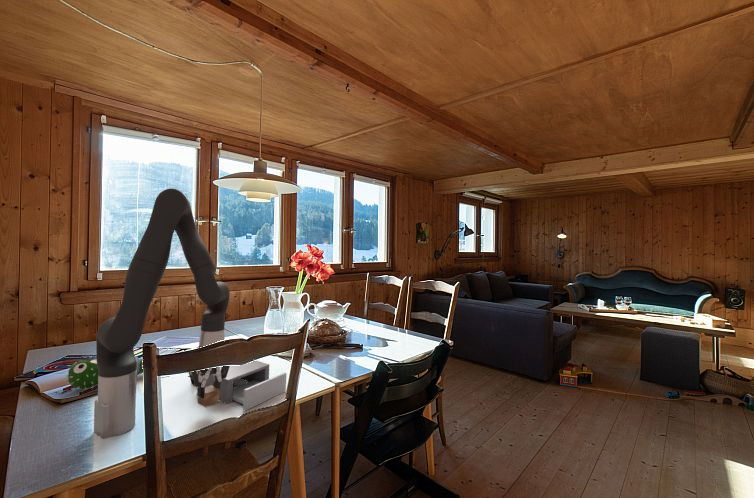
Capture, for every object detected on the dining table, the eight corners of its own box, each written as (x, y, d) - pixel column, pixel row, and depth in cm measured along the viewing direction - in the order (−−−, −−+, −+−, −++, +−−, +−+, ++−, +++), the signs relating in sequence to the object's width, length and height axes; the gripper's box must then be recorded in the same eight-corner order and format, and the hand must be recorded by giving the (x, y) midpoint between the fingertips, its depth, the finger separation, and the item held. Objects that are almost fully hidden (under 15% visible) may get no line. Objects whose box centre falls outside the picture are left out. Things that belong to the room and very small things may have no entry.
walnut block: (205, 407, 111) (206, 393, 111) (197, 403, 114) (198, 389, 114) (218, 402, 115) (219, 388, 115) (210, 398, 117) (211, 385, 117)
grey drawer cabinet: (268, 385, 139) (269, 364, 139) (227, 403, 123) (228, 380, 123) (241, 376, 147) (242, 356, 147) (199, 392, 131) (200, 369, 131)
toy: (170, 351, 142) (74, 362, 119) (168, 380, 140) (70, 397, 117) (150, 350, 155) (61, 359, 133) (149, 376, 154) (58, 390, 131)
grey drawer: (285, 390, 135) (286, 373, 134) (245, 410, 118) (245, 390, 118) (257, 381, 142) (258, 364, 142) (216, 398, 126) (216, 379, 126)
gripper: (197, 350, 106) (193, 406, 106) (238, 341, 118) (235, 391, 118) (183, 345, 110) (180, 399, 110) (224, 337, 122) (221, 385, 122)
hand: (208, 394), depth 114 cm, fingers closed on walnut block, 4 cm apart
